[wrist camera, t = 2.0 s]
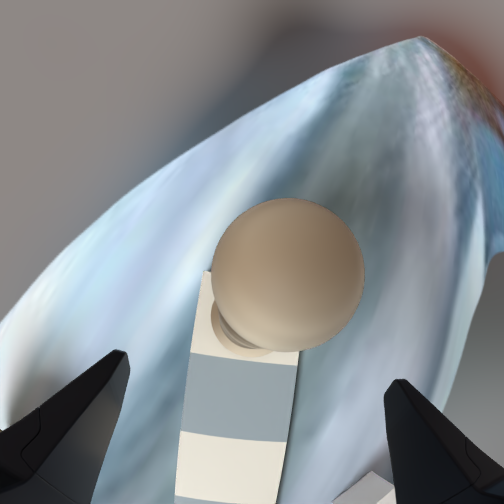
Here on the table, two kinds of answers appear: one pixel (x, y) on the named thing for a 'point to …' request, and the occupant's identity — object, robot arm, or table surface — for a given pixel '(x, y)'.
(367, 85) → the table surface
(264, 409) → the board
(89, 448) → the robot arm
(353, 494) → the die
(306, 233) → the round-topped post
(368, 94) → the table surface
